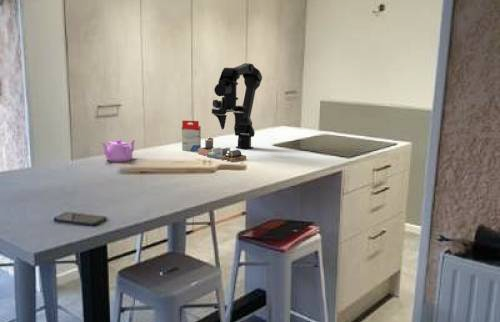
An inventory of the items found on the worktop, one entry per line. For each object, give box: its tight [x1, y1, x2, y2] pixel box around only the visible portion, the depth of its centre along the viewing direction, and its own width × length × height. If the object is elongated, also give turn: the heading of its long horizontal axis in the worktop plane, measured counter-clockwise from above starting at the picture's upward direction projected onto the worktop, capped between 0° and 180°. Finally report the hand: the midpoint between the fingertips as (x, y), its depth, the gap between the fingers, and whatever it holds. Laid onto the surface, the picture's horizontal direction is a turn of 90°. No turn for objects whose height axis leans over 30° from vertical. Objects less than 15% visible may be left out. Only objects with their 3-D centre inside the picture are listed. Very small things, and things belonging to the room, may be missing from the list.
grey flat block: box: [206, 146, 225, 160], centre depth 243 cm, size 10×9×4 cm
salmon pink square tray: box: [197, 146, 215, 157], centre depth 249 cm, size 7×7×3 cm
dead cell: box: [204, 136, 214, 150], centre depth 249 cm, size 4×4×8 cm
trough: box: [221, 154, 247, 162], centre depth 238 cm, size 10×6×2 cm, turn 138°
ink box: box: [181, 120, 202, 152], centre depth 257 cm, size 8×5×15 cm, turn 84°
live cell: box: [225, 149, 242, 158], centre depth 238 cm, size 7×4×4 cm, turn 138°
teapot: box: [100, 138, 137, 163], centre depth 232 cm, size 12×14×9 cm
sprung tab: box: [221, 147, 231, 156], centre depth 242 cm, size 5×1×3 cm, turn 138°
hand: (229, 128), depth 251 cm, fingers open, 9 cm apart
